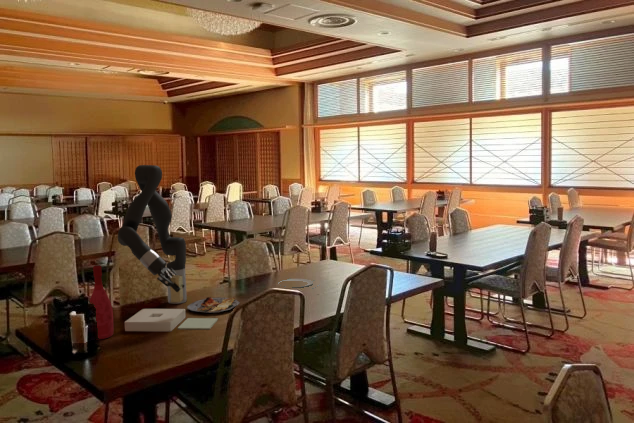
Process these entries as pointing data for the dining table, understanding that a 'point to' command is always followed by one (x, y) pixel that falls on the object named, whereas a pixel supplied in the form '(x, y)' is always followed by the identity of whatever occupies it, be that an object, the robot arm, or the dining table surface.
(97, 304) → the wine bottle
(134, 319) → the cover plate
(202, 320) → the green pad
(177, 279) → the tan rectangular block
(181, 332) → the dining table surface
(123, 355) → the dining table surface
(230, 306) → the food plate
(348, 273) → the dining table surface
